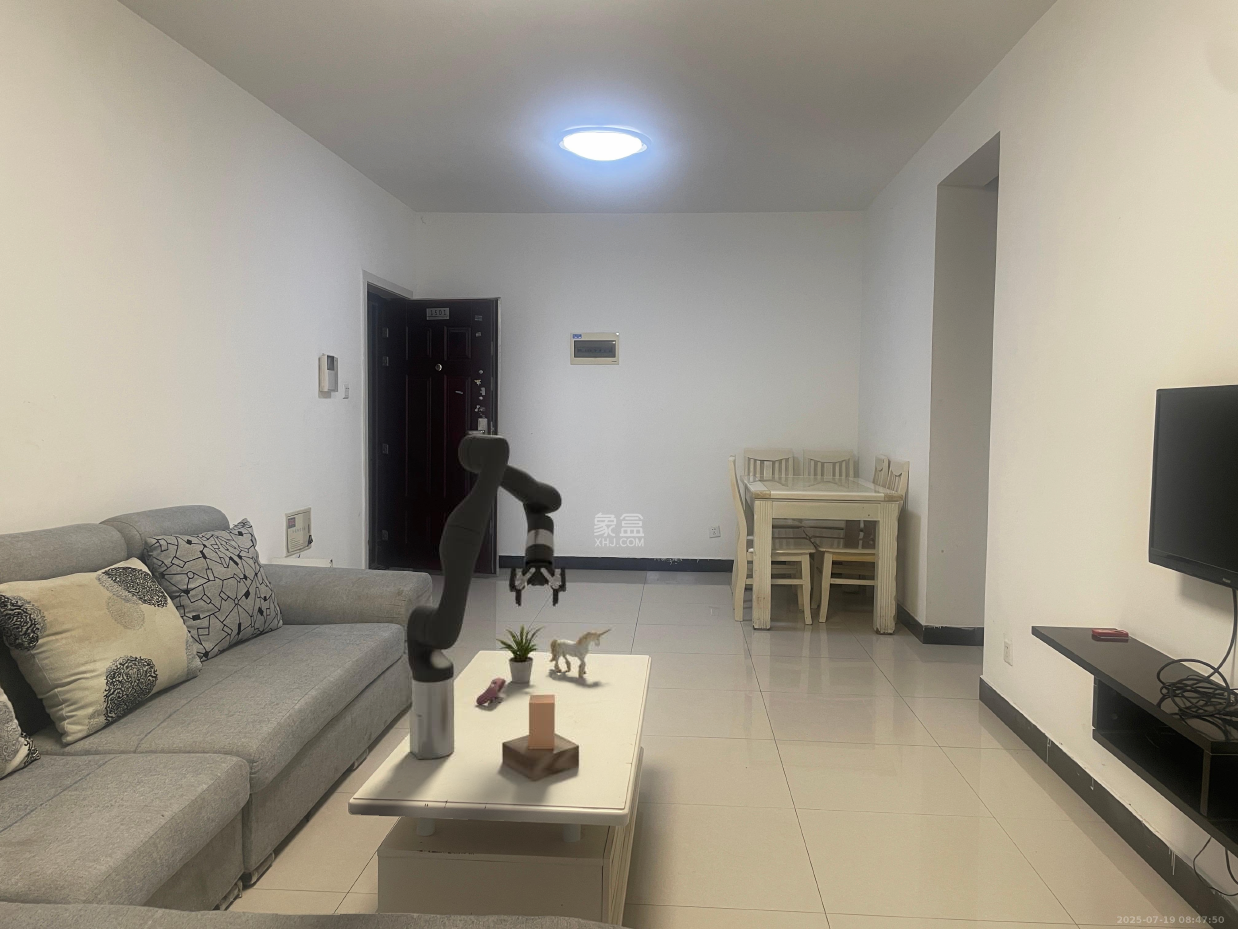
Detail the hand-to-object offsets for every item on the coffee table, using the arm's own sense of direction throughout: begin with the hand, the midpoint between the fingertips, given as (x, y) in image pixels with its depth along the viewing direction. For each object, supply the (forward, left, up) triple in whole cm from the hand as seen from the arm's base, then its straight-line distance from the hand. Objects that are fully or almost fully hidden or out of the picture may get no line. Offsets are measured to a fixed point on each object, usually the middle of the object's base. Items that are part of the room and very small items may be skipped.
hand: (536, 604), depth 195 cm
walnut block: (-10, -21, -30) cm, 39 cm away
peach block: (-10, -22, -25) cm, 35 cm away
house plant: (+13, +34, -30) cm, 47 cm away
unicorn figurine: (+31, +32, -30) cm, 54 cm away
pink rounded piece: (-2, +22, -30) cm, 38 cm away
